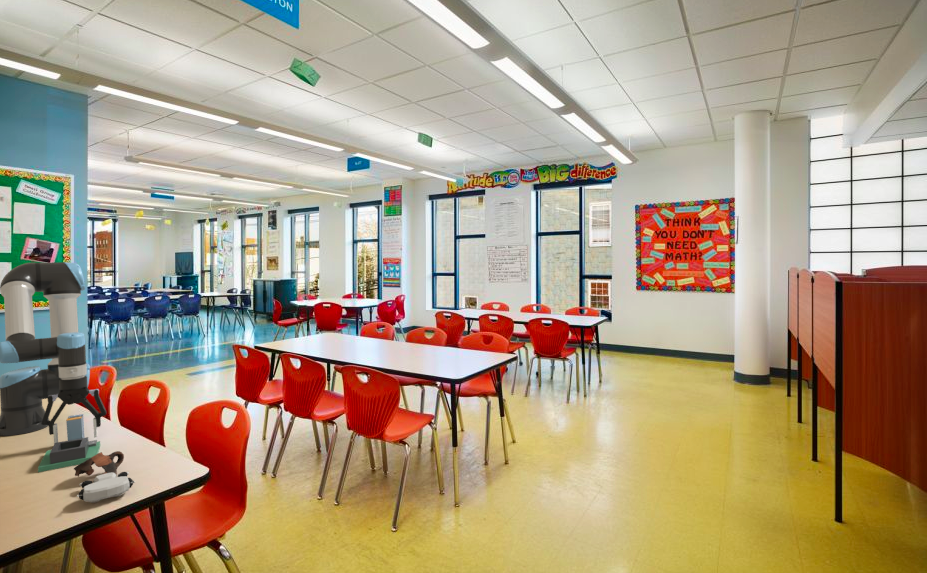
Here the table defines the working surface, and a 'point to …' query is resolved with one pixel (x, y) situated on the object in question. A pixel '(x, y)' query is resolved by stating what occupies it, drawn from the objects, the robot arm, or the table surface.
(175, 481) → the table surface
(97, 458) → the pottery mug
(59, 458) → the circuit board
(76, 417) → the plug
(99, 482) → the robot toy
